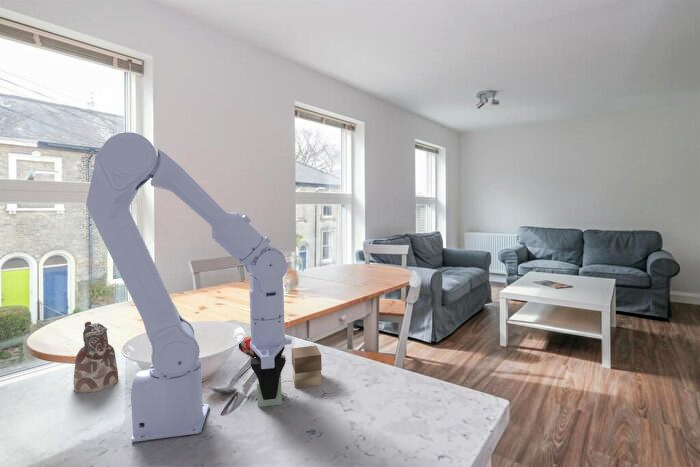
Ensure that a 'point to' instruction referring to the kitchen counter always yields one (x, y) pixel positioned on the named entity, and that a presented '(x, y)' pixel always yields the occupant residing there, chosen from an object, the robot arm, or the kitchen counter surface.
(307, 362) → the walnut top block
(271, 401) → the sage cube
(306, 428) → the kitchen counter surface
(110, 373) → the figurine
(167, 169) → the robot arm
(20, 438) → the kitchen counter surface
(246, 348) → the race car
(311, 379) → the beech base block
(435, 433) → the kitchen counter surface
